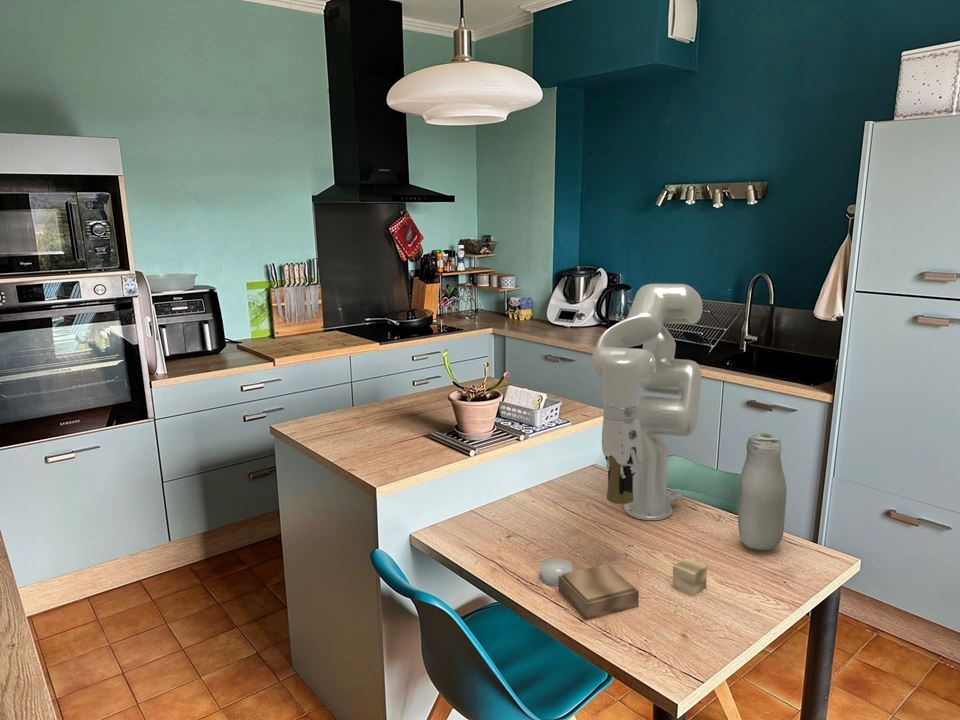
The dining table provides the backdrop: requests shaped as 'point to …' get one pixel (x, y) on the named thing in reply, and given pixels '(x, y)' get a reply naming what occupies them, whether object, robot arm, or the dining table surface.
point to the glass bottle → (762, 494)
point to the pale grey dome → (554, 570)
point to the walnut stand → (598, 591)
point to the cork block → (689, 576)
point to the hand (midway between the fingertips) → (620, 488)
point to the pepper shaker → (617, 484)
